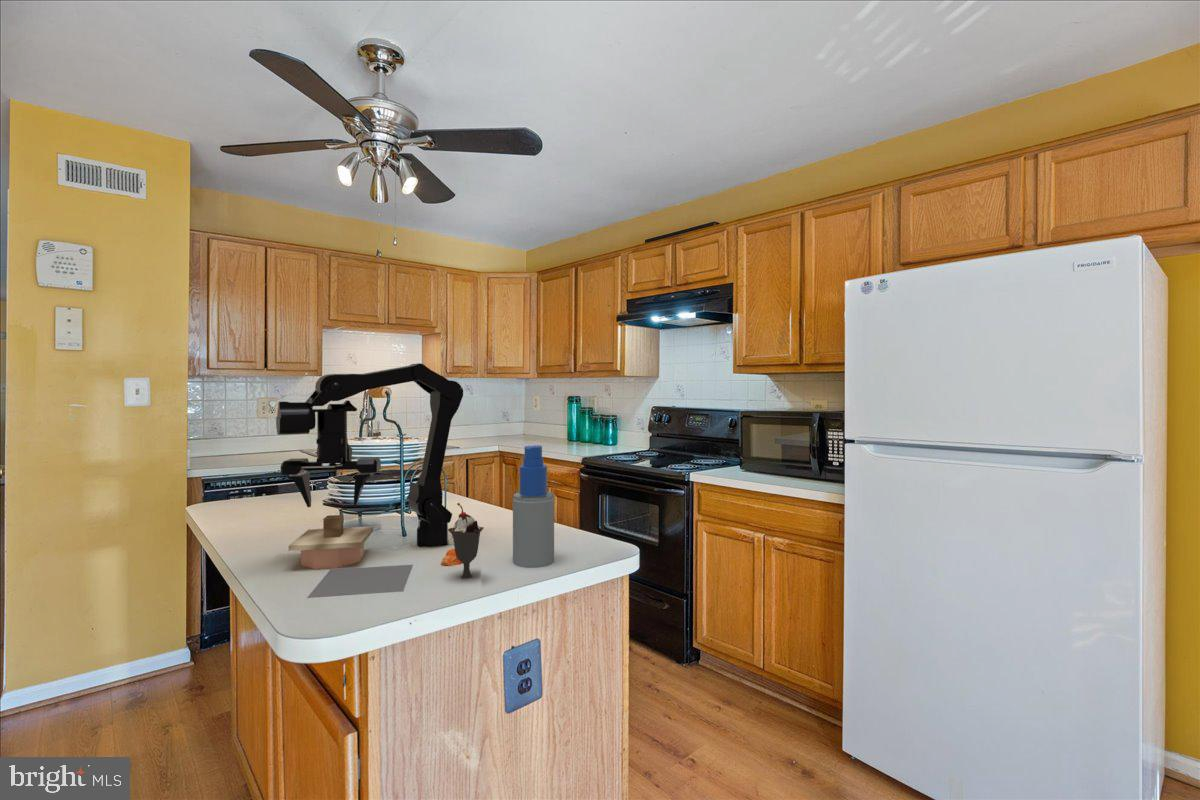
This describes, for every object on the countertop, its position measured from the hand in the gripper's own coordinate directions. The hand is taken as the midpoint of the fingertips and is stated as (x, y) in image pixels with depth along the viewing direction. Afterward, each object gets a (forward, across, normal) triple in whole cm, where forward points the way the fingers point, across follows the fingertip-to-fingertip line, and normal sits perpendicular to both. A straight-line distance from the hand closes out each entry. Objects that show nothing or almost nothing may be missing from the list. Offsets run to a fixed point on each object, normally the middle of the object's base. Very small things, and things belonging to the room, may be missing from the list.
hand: (332, 506), depth 122 cm
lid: (+7, 0, 0) cm, 7 cm away
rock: (+13, -25, +6) cm, 29 cm away
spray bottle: (+12, -42, +7) cm, 44 cm away
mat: (+12, -9, +15) cm, 21 cm away
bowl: (+12, 0, 0) cm, 12 cm away
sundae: (+12, -28, +17) cm, 35 cm away
